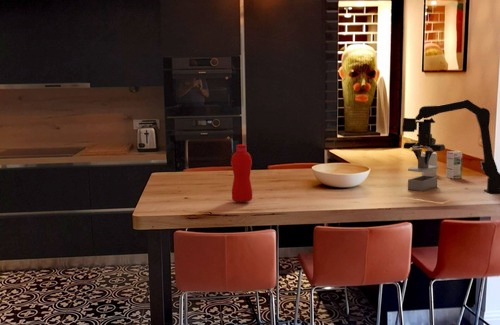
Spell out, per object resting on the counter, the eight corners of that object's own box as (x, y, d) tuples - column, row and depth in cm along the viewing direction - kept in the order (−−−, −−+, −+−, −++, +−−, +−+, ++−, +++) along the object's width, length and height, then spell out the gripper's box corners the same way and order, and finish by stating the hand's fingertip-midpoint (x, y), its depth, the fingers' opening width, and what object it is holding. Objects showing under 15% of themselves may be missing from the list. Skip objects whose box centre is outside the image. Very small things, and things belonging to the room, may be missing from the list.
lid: (422, 172, 243) (423, 158, 242) (408, 170, 248) (408, 157, 247) (437, 168, 255) (438, 155, 254) (423, 166, 260) (423, 154, 259)
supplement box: (436, 176, 286) (437, 153, 284) (422, 175, 287) (423, 153, 286) (434, 174, 293) (435, 151, 291) (421, 173, 295) (421, 151, 293)
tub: (422, 191, 245) (422, 181, 244) (407, 189, 250) (408, 179, 249) (437, 186, 256) (437, 176, 255) (422, 185, 261) (423, 175, 260)
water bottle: (251, 196, 239) (251, 142, 235) (252, 201, 228) (252, 145, 225) (231, 197, 239) (230, 143, 235) (231, 202, 228) (230, 146, 224)
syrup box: (452, 178, 277) (453, 152, 275) (445, 177, 282) (446, 150, 280) (461, 178, 278) (462, 151, 276) (454, 176, 284) (455, 150, 282)
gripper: (450, 131, 248) (449, 164, 250) (414, 130, 261) (413, 160, 263) (440, 133, 240) (439, 166, 242) (403, 131, 253) (402, 163, 255)
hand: (423, 164), depth 251 cm, fingers closed on lid, 3 cm apart
